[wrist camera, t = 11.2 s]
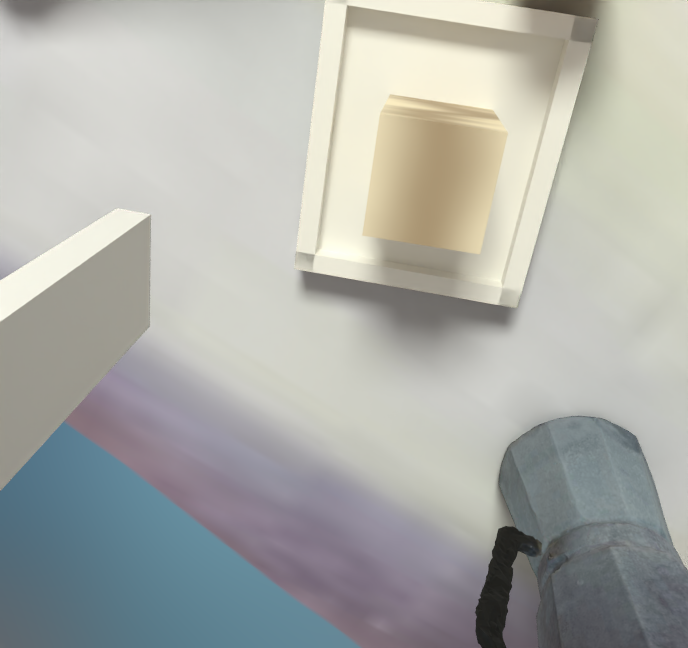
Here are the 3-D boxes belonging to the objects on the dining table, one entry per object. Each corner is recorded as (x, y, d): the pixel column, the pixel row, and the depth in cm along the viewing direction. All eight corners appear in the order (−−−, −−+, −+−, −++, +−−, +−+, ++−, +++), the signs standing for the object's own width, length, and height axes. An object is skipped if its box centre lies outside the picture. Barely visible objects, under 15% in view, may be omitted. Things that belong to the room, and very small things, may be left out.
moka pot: (625, 569, 44) (761, 956, 26) (418, 474, 43) (408, 811, 25) (720, 467, 40) (961, 842, 22) (494, 359, 38) (549, 662, 20)
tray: (588, 18, 30) (598, 18, 29) (512, 294, 37) (517, 308, 35) (334, -21, 31) (328, -24, 29) (300, 256, 37) (294, 268, 35)
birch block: (492, 109, 32) (507, 132, 25) (470, 210, 34) (479, 254, 28) (390, 94, 32) (379, 113, 26) (374, 195, 34) (362, 235, 28)
